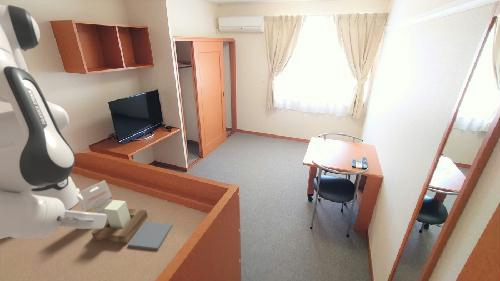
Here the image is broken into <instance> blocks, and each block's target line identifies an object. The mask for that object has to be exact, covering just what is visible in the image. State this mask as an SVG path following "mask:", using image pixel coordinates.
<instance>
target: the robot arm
mask: <svg viewBox="0 0 500 281" xmlns="http://www.w3.org/2000/svg"><path fill="white" fill-rule="evenodd" d="M40 39H41V31H40V27H39V25H38V23H37V22H36V19H35V18H34V17H32V15H31V13H30V12H29V11H28V10H26V9H25V8H23V7H19V6H14V5H11V4H8V5H4V4H0V102H3V103H9V105H10V106H11V109H12V110H9V111H5V112H4V111H3V112H0V240H3V239H5V238H8V237H9V238H10V237H11V238H14V239H27V238H28V239H29V238H30V239H31V238H46V237H48V236H51V235H52V234H53V233H55V232H56V231H57V230H58V229H59V228H60V227H61V228H62V227H63V228H70V229H80V230H87V229H88V230H95V229H102V228H104V226H105V224H106V220H107V215H106V214H102V213H92V212H83V210H82V211H81V210H71V209H72V208H74V207H75V206H76V205H77V204H78V203H79V200H78V198H77V195H78V194H80V192H81V190H80V188H79V187H76V184H75V182H74V181H73V179H72V177H71V176H70V175H71V174H72V171H73V170H74V167H75V164H76V163H75V162H76V157H75V156H76V155H75V153H74V150H73V149H72V147H71V146H70V144H69V143H68V142H67V140H66V139H65V137H64V136H63V134H62V132H61V131H64V130H65V129H68V127H69V124H70V117H69V113H68V112H67V111H66V110H65V109H64V108H63V107H62V106H60V105H58V104H56V103H52V102H50V101H49V100H46V98H45V95H44V94H43V91H42V90H41V88H40V86H39V84H38V82H37V81H36V80H35V78H34V77H33V76H32V74H30V72H29V69H28V66H27V64H26V60H25V58H24V56H23V54H22V51H23V52H27V50H31V49H34V48H36V47H37V46H38V45H39V42H40ZM21 50H22V51H21Z"/></svg>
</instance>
